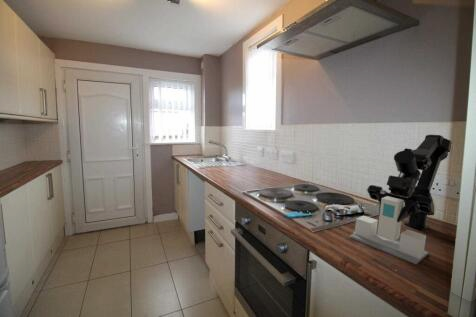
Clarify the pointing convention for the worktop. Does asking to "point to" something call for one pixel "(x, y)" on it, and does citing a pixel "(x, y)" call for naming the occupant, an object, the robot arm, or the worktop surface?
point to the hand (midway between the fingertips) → (388, 218)
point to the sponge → (295, 214)
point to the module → (390, 218)
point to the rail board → (405, 249)
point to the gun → (345, 207)
